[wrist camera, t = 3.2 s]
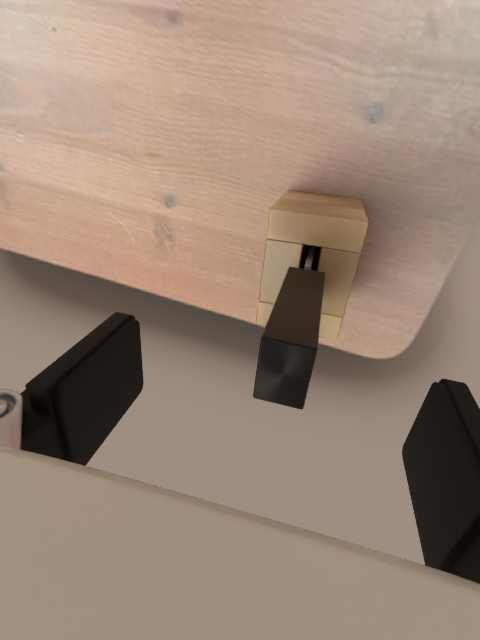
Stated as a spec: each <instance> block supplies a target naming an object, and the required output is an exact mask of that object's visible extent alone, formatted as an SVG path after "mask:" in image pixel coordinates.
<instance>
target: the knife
mask: <svg viewBox="0 0 480 640" xmlns="http://www.w3.org/2000/svg"><path fill="white" fill-rule="evenodd" d="M315 248H316V246H312V245H310V248H309V252H308V255H307V259H306V263H305V267H304V269H301V268H296V267H289V268H288V270H287V273H286V276H285V278H284V281H283V283H282V286H281V288H280V291H279V293H278V296H277V298H276V301H275V304H274V306H273V309H272V311H271V314H270V316H269V319H268V321H267V324H266V326H265V329H264V332H263V334H262V337H261V342H260V350H259V357H258V364H257V371H256V378H255V386H254V393H253V397H254V398H257V399H261V400H265V401H269V402H273V403H277V404H281V405H285V406H290V407H293V408H298V409H303V407H304V403H305V399H306V395H307V391H308V387H309V382H310V378H311V374H312V370H313V366H314V362H315V357H316V353H317V348H318V339H319V330H320V320H321V311H322V302H323V292H324V283H325V272H319V271H313V270H311V268H312V263H313V258H314V253H315Z"/></svg>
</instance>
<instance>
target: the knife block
mask: <svg viewBox="0 0 480 640" xmlns="http://www.w3.org/2000/svg"><path fill="white" fill-rule="evenodd" d="M368 225H369V222H368V219H367V216H366V213H365V210H364V207H363V204H362V201H361V200H358V199H350V198H342V197H335V196H327V195H319V194H312V193H304V192H296V191H289V190H288V191H287V192H286V193H285V194H284V195H283V196H282V197H281V198H280V199H279V200H278V201H277V202H276V203H275V204H274V205H273V206H272V207H271V209H270V214H269V222H268V230H267V239H266V246H265V254H264V262H263V270H262V278H261V286H260V294H259V302H258V310H257V318H256V324H260V325H265V326H266V324H267V321H268V319H269V316H270V314H271V311H272V309H273V306H274V304H275V301H276V298H277V296H278V293H279V291H280V288H281V286H282V283H283V281H284V278H285V276H286V273H287V270H288V268H289V267H296V268H301V269H303V264H304V258H305V253H306V248H307V245H312V246H318V247H321V248H320V253H319V258H318V263H317V268H316V271H319V272H325V283H324V292H323V302H322V311H321V320H320V330H319V337H324V338H328V339H333V340H337V339H338V336H339V332H340V328H341V324H342V321H343V316H344V313H345V310H346V306H347V302H348V298H349V295H350V291H351V287H352V284H353V280H354V276H355V272H356V269H357V265H358V261H359V258H360V253H361V251H362V247H363V243H364V239H365V236H366V232H367V228H368Z"/></svg>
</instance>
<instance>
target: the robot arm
mask: <svg viewBox="0 0 480 640" xmlns="http://www.w3.org/2000/svg"><path fill="white" fill-rule="evenodd" d="M142 388H143V370H142V356H141V340H140V325H139V322H138V321H137V320H135V317H134V316H133V315H128V314H124V313H119V312H116V313H114V314H113V315H111V316H110V317H109V318H108V319H107V320H105V321H104V322H103V323H102V324H100V325H99V326H98V327H97V328H95V329H94V330H93V331H92V332H90V333H89V334H88V335H87V336H86V337H84V338H83V339H82V340H81V341H79V342H78V343H77V344H76V345H75V346H73V347H72V348H71V349H70V350H68V351H67V352H66V353H65V354H63V355H62V356H61V357H59V358H58V359H57V360H56V361H55V362H53V363H52V364H51V365H50V366H48V367H47V368H46V369H45V370H43V371H42V372H41V373H40V374H39V375H37V376H36V377H35V378H33V379H32V380H31V381H30V382H29V383H27V384H26V390H24V391H23V392H22V393H21V394H19V393H18V392H17V391H14V390H12V389H0V640H480V409H479V408H478V405H477V403H476V401H475V400H474V398H473V396H472V394H471V392H470V390H469V388H468V387H467V385H466V384H465V383H462V382H457V381H452V380H447V379H441V380H440V381H439V383H437V382H434V383H433V384H432V385H431V388H430V389H429V392H428V394H427V396H426V398H425V400H424V402H423V404H422V407H421V409H420V411H419V413H418V415H417V417H416V419H415V421H414V424H413V426H412V428H411V430H410V432H409V434H408V437H407V439H406V441H405V443H404V445H403V450H402V456H403V462H404V466H405V471H406V476H407V481H408V486H409V490H410V495H411V500H412V504H413V509H414V514H415V518H416V523H417V528H418V532H419V537H420V542H421V547H422V551H423V556H424V561H425V565H421V564H418V563H415V562H412V561H408V560H406V559H402V558H399V557H396V556H393V555H390V554H386V553H383V552H380V551H377V550H373V549H370V548H366V547H363V546H360V545H356V544H353V543H349V542H346V541H343V540H340V539H336V538H333V537H329V536H326V535H322V534H319V533H316V532H313V531H309V530H306V529H302V528H299V527H295V526H292V525H289V524H286V523H282V522H279V521H275V520H272V519H268V518H265V517H261V516H258V515H255V514H251V513H248V512H244V511H241V510H238V509H234V508H231V507H227V506H224V505H220V504H217V503H213V502H210V501H206V500H203V499H199V498H196V497H193V496H189V495H186V494H182V493H179V492H175V491H172V490H168V489H165V488H161V487H158V486H154V485H151V484H147V483H144V482H140V481H137V480H133V479H130V478H126V477H122V476H119V475H116V474H112V473H108V472H105V471H102V470H98V469H94V468H91V467H87V466H86V464H87V463H88V462H89V460H90V459H91V458H92V456H93V455H94V454H95V452H96V451H97V450H98V448H99V447H100V446H101V444H102V443H103V442H104V440H105V439H106V438H107V436H108V435H109V434H110V432H111V431H112V429H113V428H114V427H115V426H116V424H117V423H118V422H119V420H120V419H121V418H122V416H123V415H124V414H125V412H126V411H127V410H128V408H129V407H130V406H131V405H132V403H133V402H134V401H135V399H136V398H137V396H138V395H139V394H140V392H141V390H142Z"/></svg>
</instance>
